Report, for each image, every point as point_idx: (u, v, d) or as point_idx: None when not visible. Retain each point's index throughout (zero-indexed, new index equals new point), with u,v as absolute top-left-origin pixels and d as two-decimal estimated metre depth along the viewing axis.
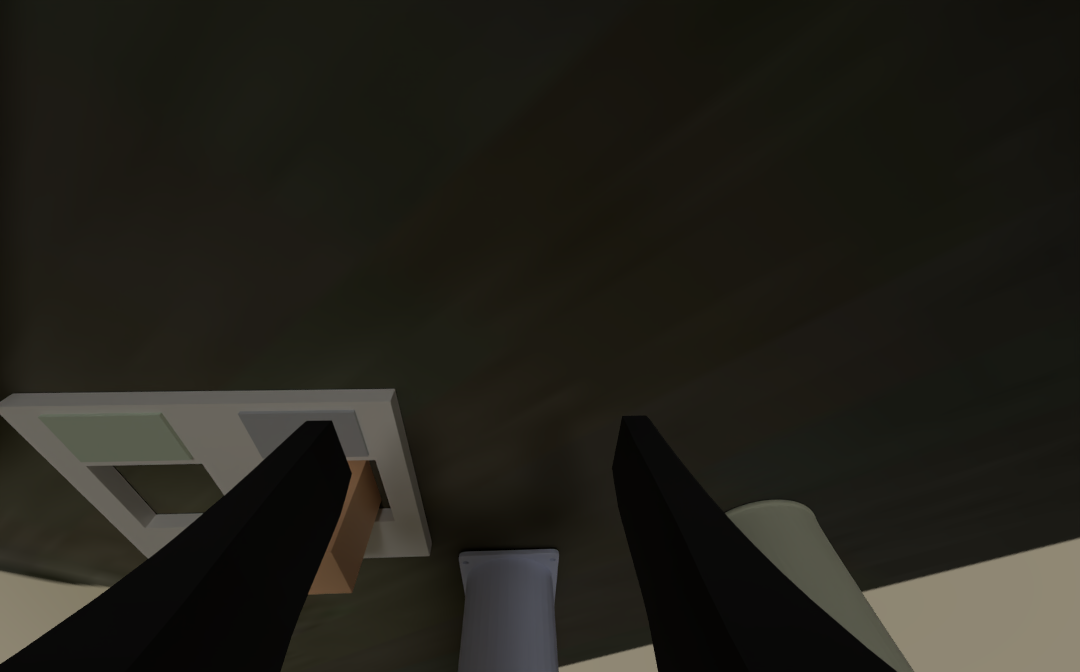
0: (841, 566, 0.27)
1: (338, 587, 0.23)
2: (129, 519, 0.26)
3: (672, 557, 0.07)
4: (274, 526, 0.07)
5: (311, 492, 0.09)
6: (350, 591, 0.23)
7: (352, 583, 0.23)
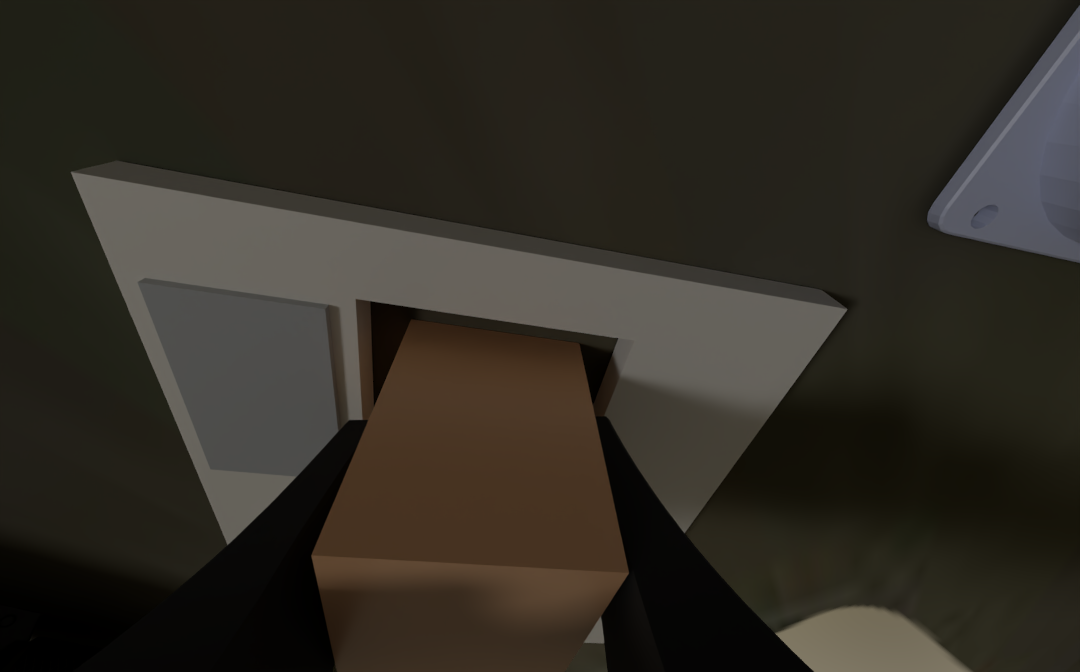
0: None
1: (574, 588, 0.06)
2: None
3: None
4: None
5: None
6: (617, 574, 0.06)
7: (600, 549, 0.06)
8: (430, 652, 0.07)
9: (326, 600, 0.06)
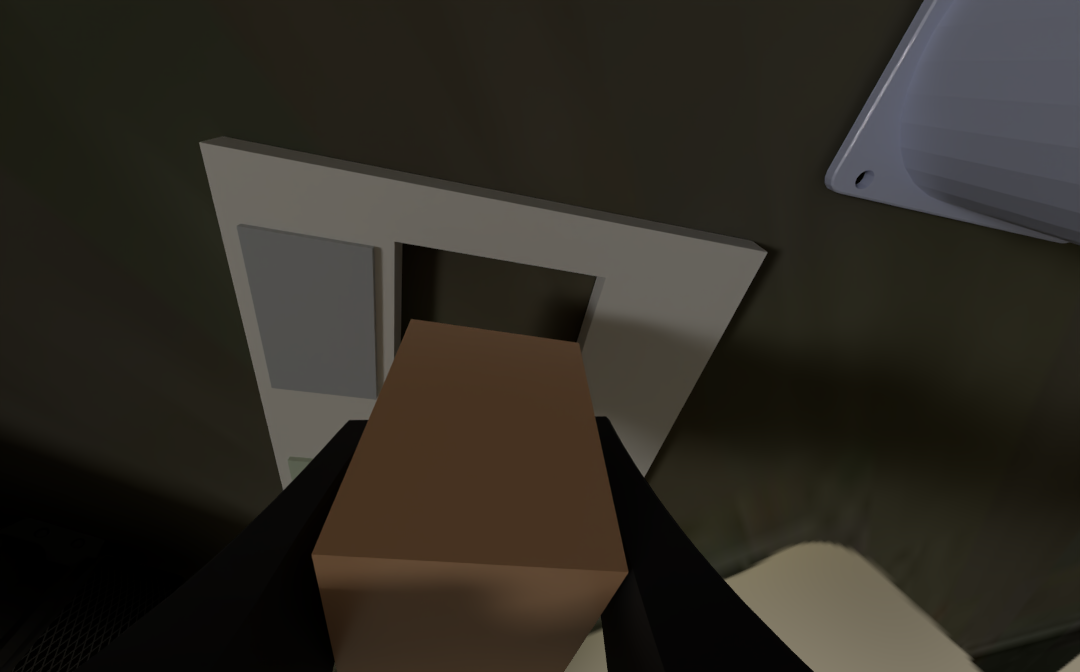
0: None
1: (574, 587, 0.06)
2: None
3: None
4: None
5: None
6: (616, 573, 0.06)
7: (600, 548, 0.06)
8: (430, 651, 0.07)
9: (326, 599, 0.06)
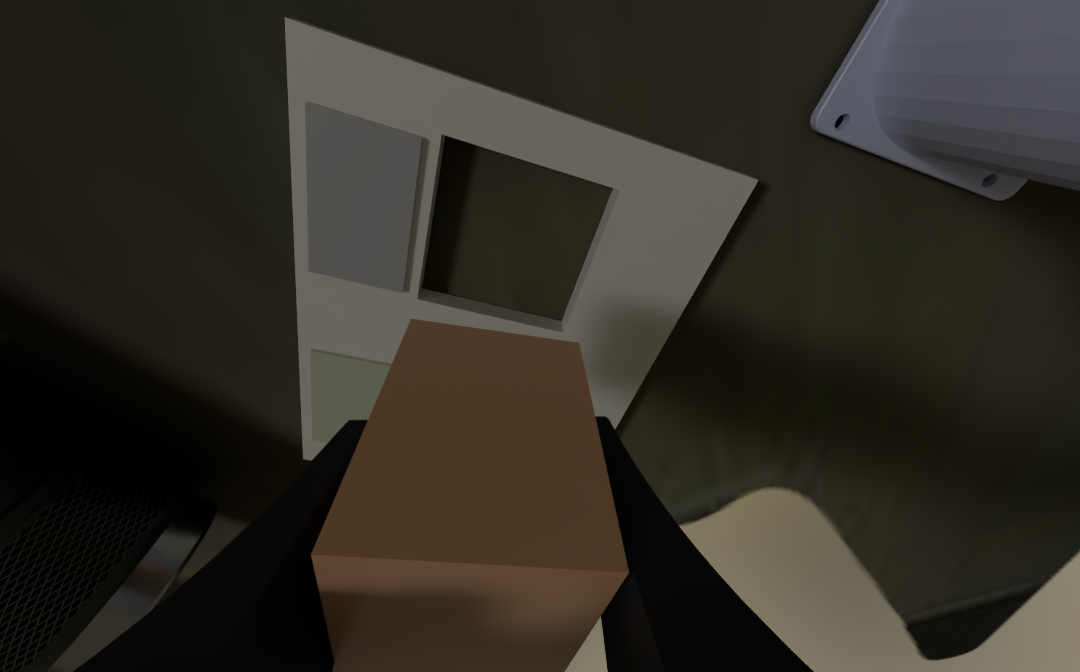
0: None
1: (574, 588, 0.06)
2: None
3: None
4: None
5: None
6: (617, 573, 0.06)
7: (600, 548, 0.06)
8: (429, 652, 0.07)
9: (326, 599, 0.06)
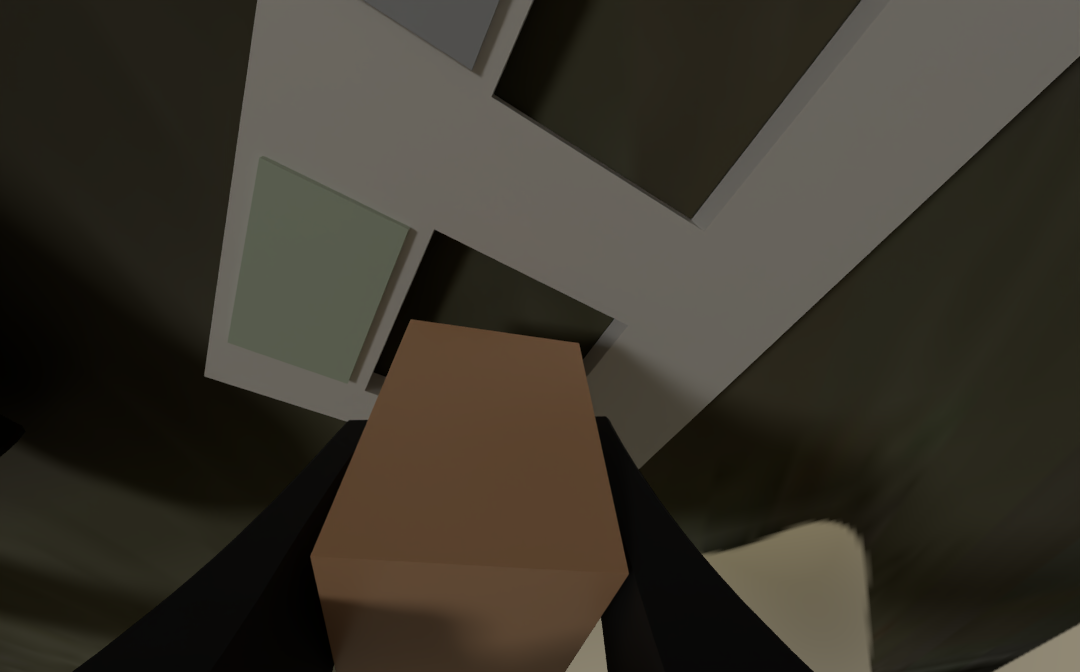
0: None
1: (575, 590, 0.06)
2: None
3: None
4: None
5: None
6: (617, 574, 0.06)
7: (600, 549, 0.06)
8: (429, 653, 0.07)
9: (325, 601, 0.06)
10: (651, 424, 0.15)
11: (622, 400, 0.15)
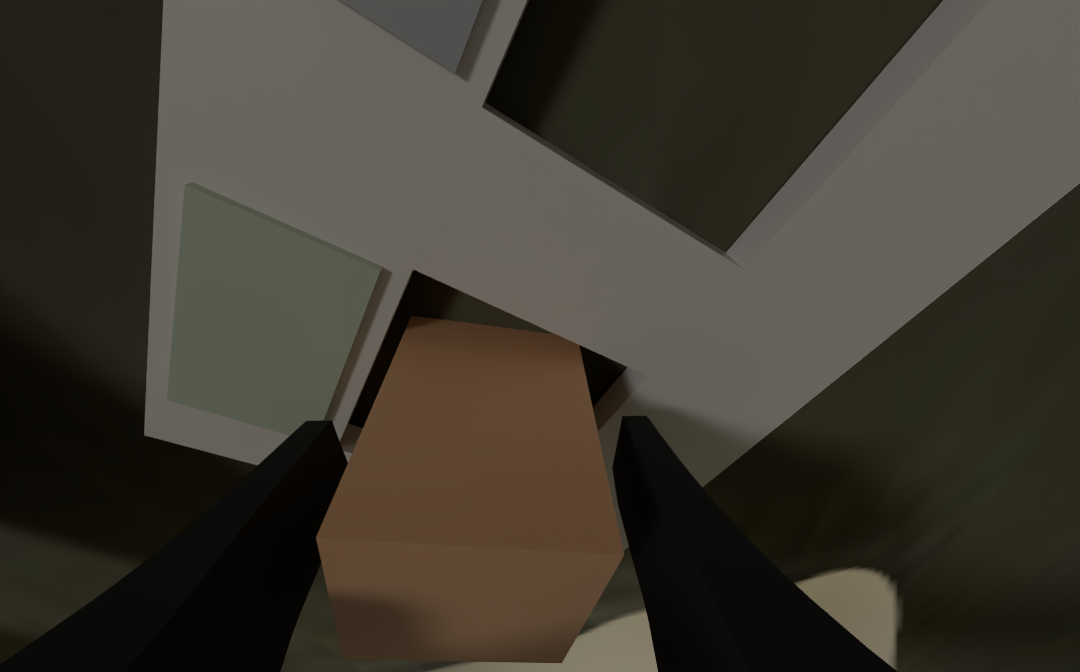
0: None
1: (572, 571, 0.06)
2: None
3: (672, 557, 0.07)
4: (274, 526, 0.07)
5: (311, 492, 0.09)
6: (612, 556, 0.06)
7: (596, 532, 0.06)
8: (432, 637, 0.08)
9: (331, 583, 0.06)
10: None
11: None
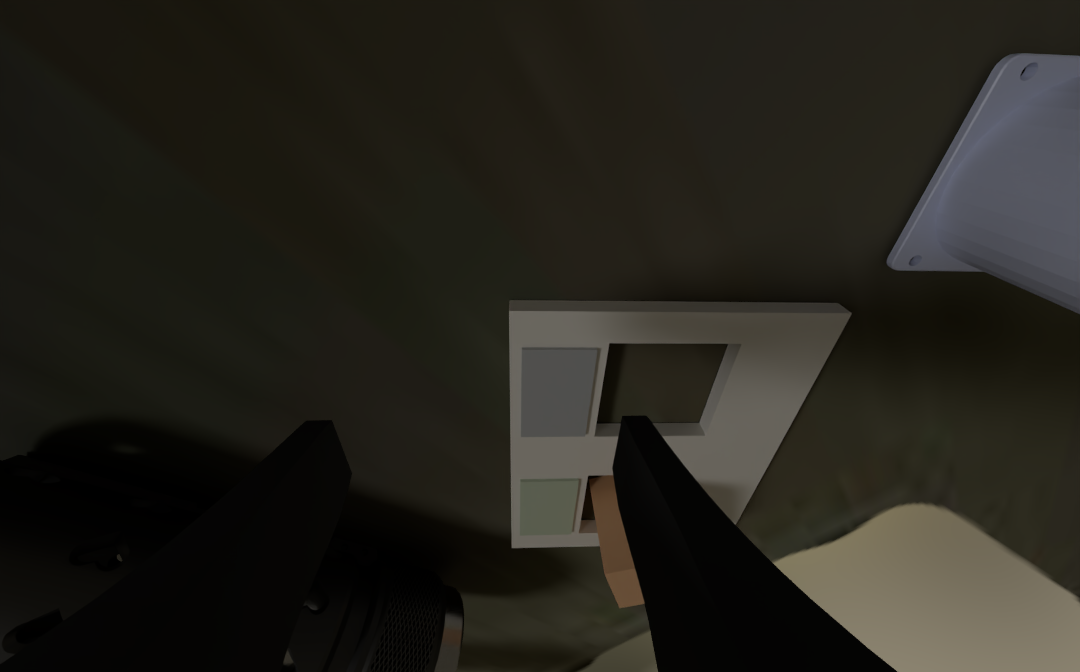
0: None
1: None
2: None
3: (672, 557, 0.07)
4: (274, 526, 0.07)
5: (311, 492, 0.09)
6: None
7: None
8: None
9: (610, 584, 0.22)
10: (730, 503, 0.27)
11: None
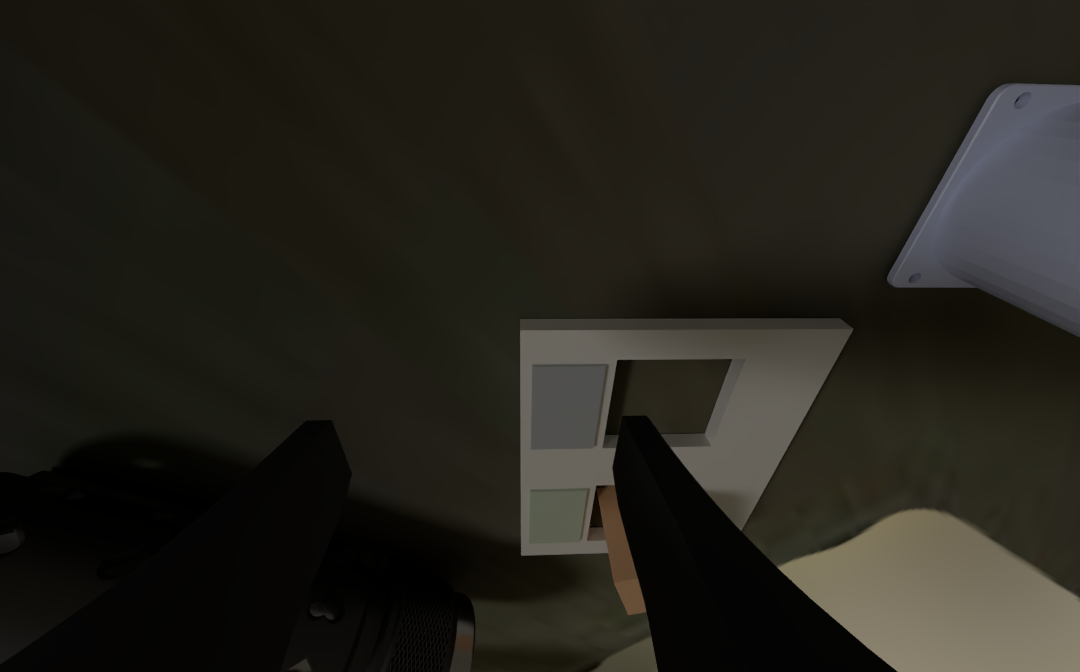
0: None
1: None
2: None
3: (672, 557, 0.07)
4: (274, 526, 0.07)
5: (311, 492, 0.09)
6: None
7: None
8: None
9: (619, 592, 0.23)
10: (735, 511, 0.28)
11: None
